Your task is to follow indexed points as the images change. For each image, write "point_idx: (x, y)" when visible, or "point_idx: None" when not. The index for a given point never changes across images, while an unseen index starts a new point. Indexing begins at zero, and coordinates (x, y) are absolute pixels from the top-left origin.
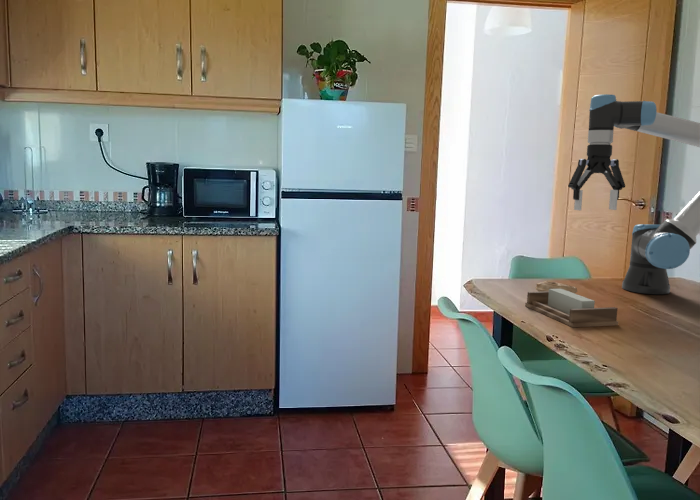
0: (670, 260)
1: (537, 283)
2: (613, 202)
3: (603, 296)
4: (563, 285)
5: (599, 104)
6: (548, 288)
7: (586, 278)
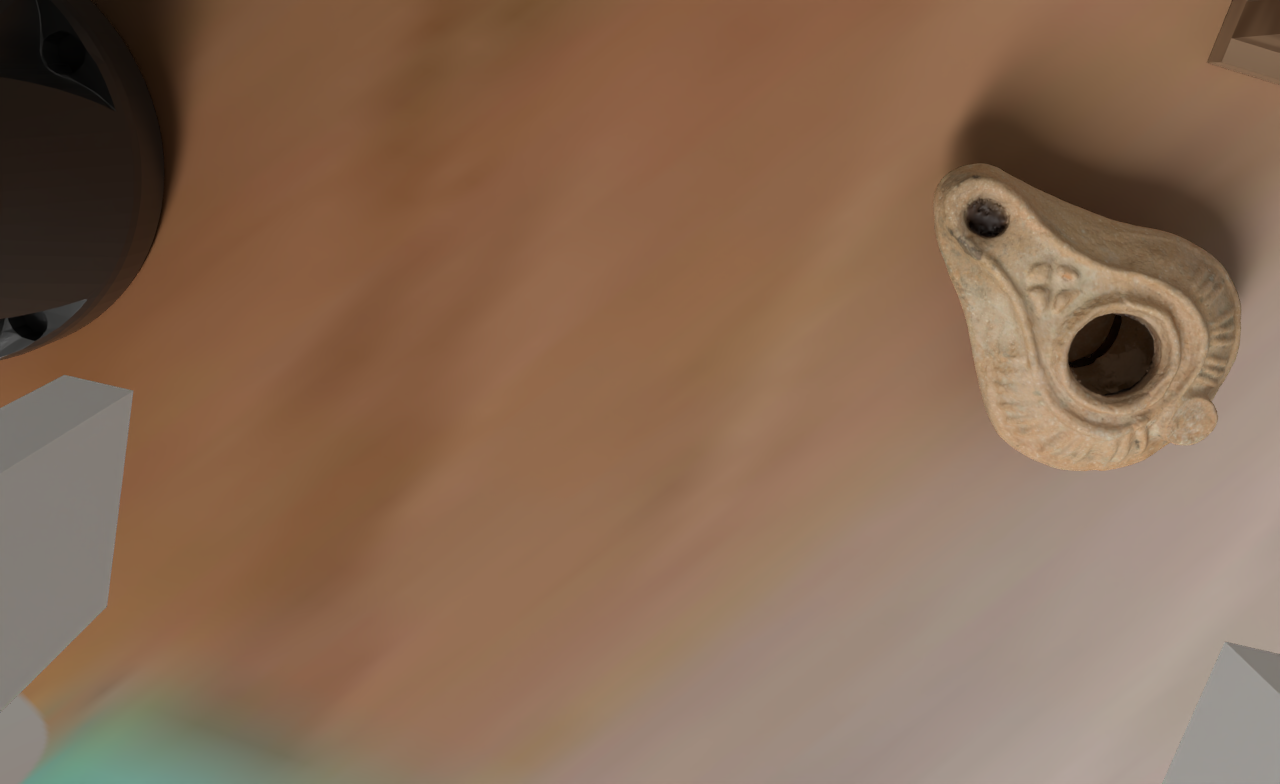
0: None
1: (1189, 439)
2: (2, 544)
3: (593, 140)
4: (1053, 266)
5: None
6: (1220, 288)
7: (84, 723)
